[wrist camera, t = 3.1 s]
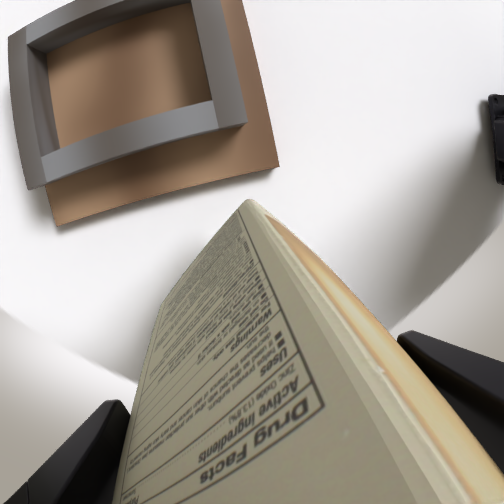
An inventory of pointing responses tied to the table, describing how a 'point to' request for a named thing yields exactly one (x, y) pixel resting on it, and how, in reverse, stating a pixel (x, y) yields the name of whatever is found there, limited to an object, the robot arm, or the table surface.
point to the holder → (136, 101)
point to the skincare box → (287, 391)
